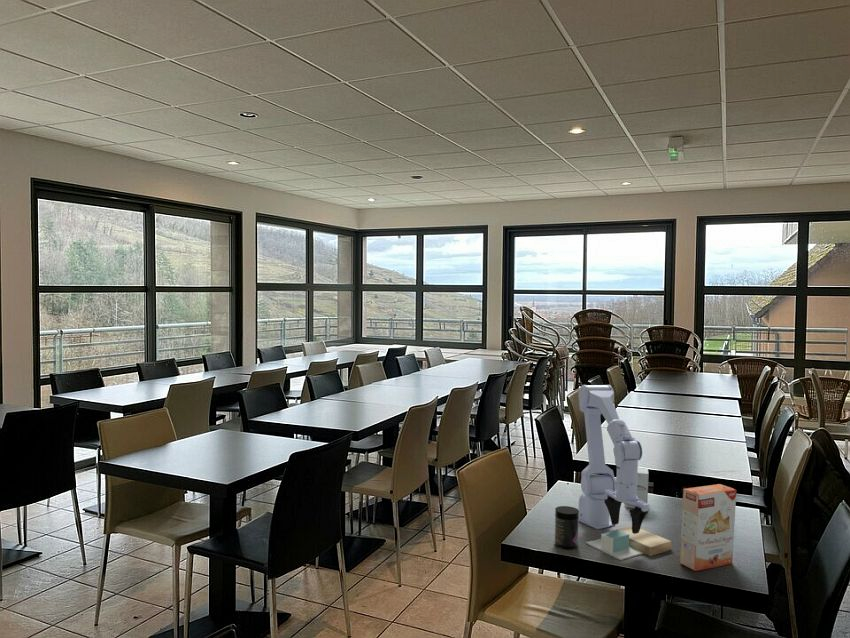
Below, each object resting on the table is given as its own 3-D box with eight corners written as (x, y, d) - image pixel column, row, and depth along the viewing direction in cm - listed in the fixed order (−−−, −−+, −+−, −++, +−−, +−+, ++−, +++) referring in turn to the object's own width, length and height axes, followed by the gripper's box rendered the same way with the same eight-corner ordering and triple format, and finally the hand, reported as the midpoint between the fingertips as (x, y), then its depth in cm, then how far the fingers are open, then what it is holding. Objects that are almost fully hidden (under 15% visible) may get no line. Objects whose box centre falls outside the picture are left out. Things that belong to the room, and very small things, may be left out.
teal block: (618, 543, 183) (601, 547, 180) (618, 529, 183) (601, 534, 179) (628, 548, 180) (611, 553, 176) (629, 534, 180) (612, 539, 176)
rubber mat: (586, 543, 184) (586, 542, 184) (607, 537, 188) (607, 536, 188) (620, 560, 172) (620, 558, 172) (643, 553, 177) (643, 552, 177)
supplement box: (624, 507, 215) (626, 471, 215) (624, 501, 222) (625, 465, 222) (647, 510, 213) (648, 473, 213) (646, 503, 220) (648, 468, 220)
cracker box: (696, 572, 165) (699, 494, 165) (678, 563, 171) (681, 487, 170) (734, 564, 171) (737, 488, 170) (716, 555, 177) (719, 482, 176)
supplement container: (572, 552, 177) (573, 515, 177) (550, 546, 181) (551, 510, 181) (581, 544, 183) (582, 509, 182) (559, 538, 187) (560, 504, 186)
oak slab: (611, 538, 188) (611, 530, 187) (632, 533, 192) (632, 525, 192) (650, 556, 176) (650, 547, 175) (671, 549, 180) (671, 541, 180)
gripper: (656, 486, 177) (655, 534, 177) (616, 473, 189) (615, 518, 190) (639, 490, 173) (638, 538, 174) (600, 476, 186) (598, 522, 186)
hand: (625, 528), depth 182 cm, fingers open, 7 cm apart
